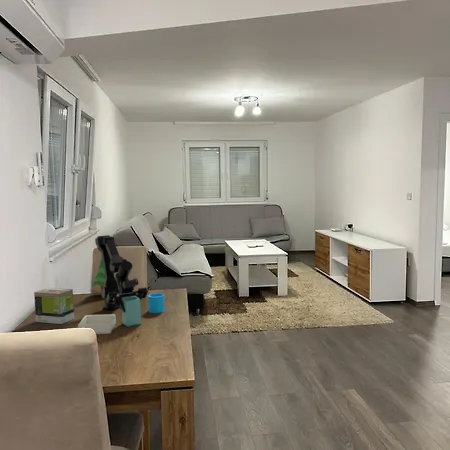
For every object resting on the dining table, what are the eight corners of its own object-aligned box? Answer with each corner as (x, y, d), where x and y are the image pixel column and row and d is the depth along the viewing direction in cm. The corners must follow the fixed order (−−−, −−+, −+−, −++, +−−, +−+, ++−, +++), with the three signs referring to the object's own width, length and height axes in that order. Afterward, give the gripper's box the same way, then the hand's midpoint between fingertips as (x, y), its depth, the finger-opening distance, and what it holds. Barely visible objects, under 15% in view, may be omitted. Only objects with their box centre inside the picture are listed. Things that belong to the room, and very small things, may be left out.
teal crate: (122, 323, 203) (121, 298, 202) (136, 320, 206) (135, 296, 205) (127, 327, 197) (126, 301, 196) (141, 324, 201) (140, 299, 200)
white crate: (86, 324, 202) (85, 315, 201) (115, 323, 203) (115, 314, 202) (78, 334, 188) (78, 324, 188) (110, 333, 189) (110, 323, 189)
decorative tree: (87, 297, 252) (85, 245, 249) (103, 290, 266) (101, 242, 264) (107, 298, 247) (105, 246, 244) (122, 292, 262) (121, 242, 259)
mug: (166, 312, 220) (165, 296, 219) (149, 314, 217) (149, 297, 217) (161, 306, 231) (161, 290, 231) (146, 307, 229) (145, 292, 228)
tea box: (75, 318, 212) (73, 288, 210) (61, 325, 202) (59, 293, 201) (49, 316, 216) (48, 286, 215) (35, 322, 207) (33, 291, 206)
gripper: (107, 275, 198) (115, 304, 190) (145, 270, 208) (155, 298, 200) (102, 289, 206) (110, 317, 197) (140, 283, 215) (149, 310, 207)
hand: (132, 310), depth 200 cm, fingers closed on teal crate, 7 cm apart
